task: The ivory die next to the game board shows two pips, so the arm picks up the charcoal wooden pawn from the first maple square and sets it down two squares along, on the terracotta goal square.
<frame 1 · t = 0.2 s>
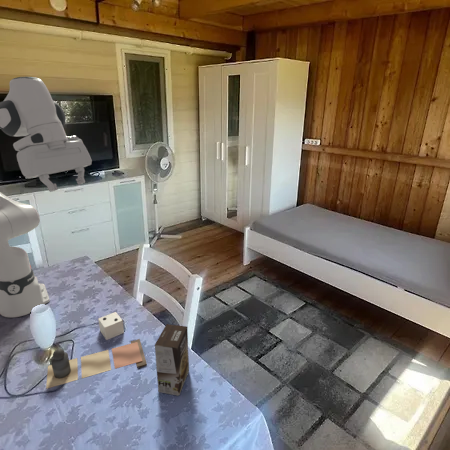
hand: (68, 187, 92), 52 cm above the table, tool tilted 20°, fingers open, 8 cm apart
coffee box: (174, 381, 93), on the table
game board: (96, 365, 98), on the table
die: (112, 334, 112), on the table
pawn: (62, 372, 94), point 1 cm above the table, touching game board
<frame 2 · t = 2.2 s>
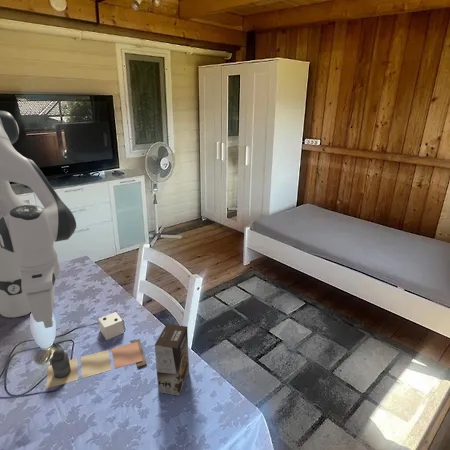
hand: (50, 315, 87), 21 cm above the table, tool pointing down, fingers open, 8 cm apart
nothing on the table moved.
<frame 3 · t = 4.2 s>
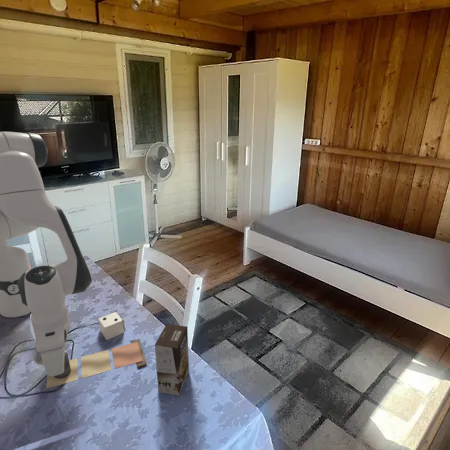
hand: (60, 364, 93), 4 cm above the table, tool pointing down, fingers closed on pawn, 4 cm apart
pawn: (62, 372, 94), point 1 cm above the table, touching game board, gripper
everything else where it was.
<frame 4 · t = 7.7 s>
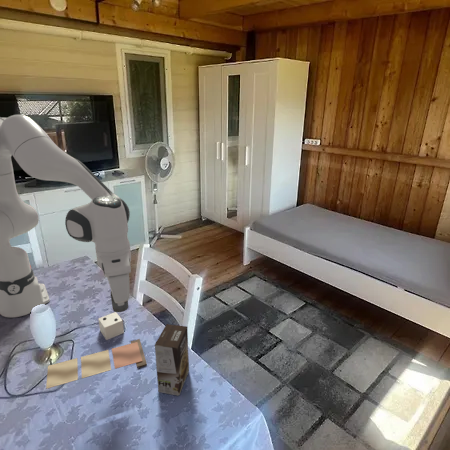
hand: (119, 298, 94), 21 cm above the table, tool pointing down, fingers closed on pawn, 4 cm apart
pawn: (120, 307, 95), point 18 cm above the table, touching gripper
everything else where it was.
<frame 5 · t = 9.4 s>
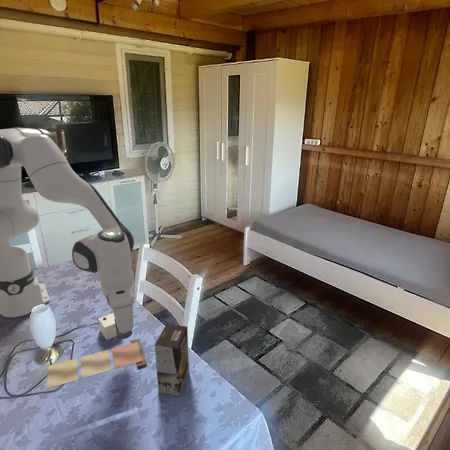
hand: (123, 325, 97), 12 cm above the table, tool pointing down, fingers closed on pawn, 4 cm apart
pawn: (124, 333, 98), point 9 cm above the table, touching gripper
everything else where it was.
when the fingers open (5 cm above the table, at t = 11.0 s): pawn drops 1 cm, resting on game board.
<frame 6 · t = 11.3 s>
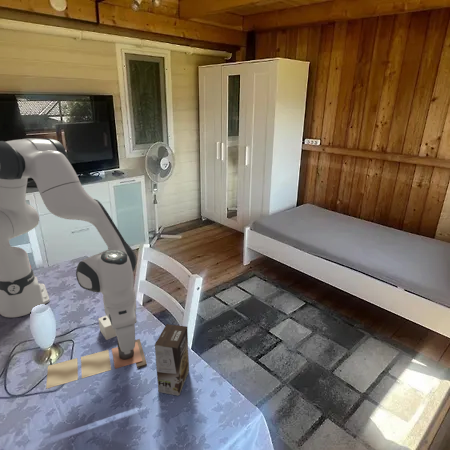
hand: (125, 342, 100), 5 cm above the table, tool pointing down, fingers open, 7 cm apart
pawn: (126, 354, 101), point 1 cm above the table, touching game board
everything else where it was.
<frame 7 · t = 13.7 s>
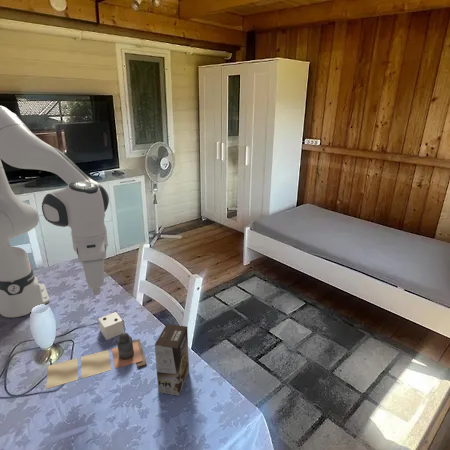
hand: (95, 284, 94), 25 cm above the table, tool pointing down, fingers open, 8 cm apart
nothing on the table moved.
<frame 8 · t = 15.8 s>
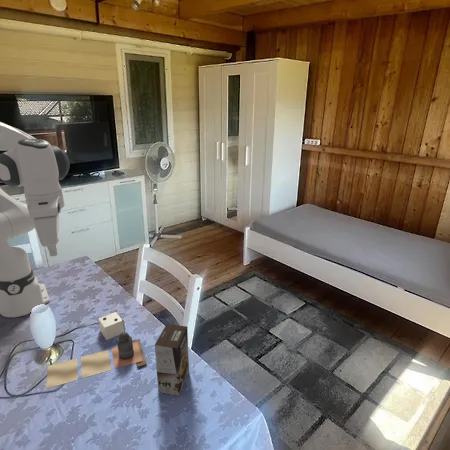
hand: (54, 248, 93), 35 cm above the table, tool pointing down, fingers open, 8 cm apart
nothing on the table moved.
at the end: pawn 0.0 cm from the target spot, point 1.0 cm above the table; pawn tilted 2°; die moved 0.1 cm from its start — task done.
